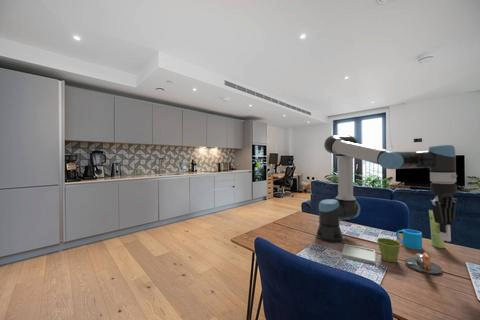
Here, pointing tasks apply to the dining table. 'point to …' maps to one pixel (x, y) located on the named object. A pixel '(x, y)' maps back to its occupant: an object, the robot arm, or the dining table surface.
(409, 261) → the crank plate
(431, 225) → the tube
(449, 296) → the dining table surface
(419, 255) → the crank
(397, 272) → the dining table surface
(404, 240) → the mug
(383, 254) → the plant pot
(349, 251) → the tray
